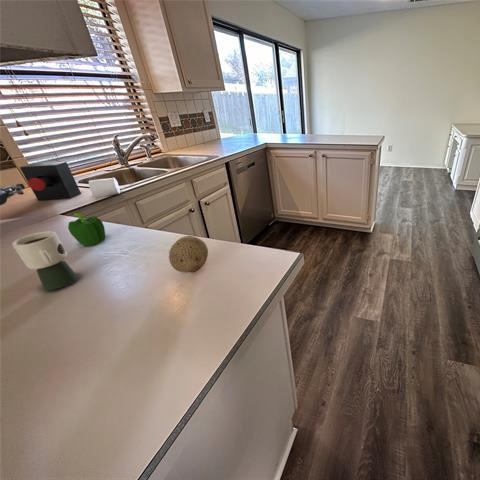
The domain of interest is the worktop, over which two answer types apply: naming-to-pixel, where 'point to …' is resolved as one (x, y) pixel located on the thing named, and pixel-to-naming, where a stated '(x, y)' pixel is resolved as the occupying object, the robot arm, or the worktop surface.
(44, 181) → the knob
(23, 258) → the character mug
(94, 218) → the bell pepper
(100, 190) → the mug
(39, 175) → the control box
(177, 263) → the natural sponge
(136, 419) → the worktop surface
